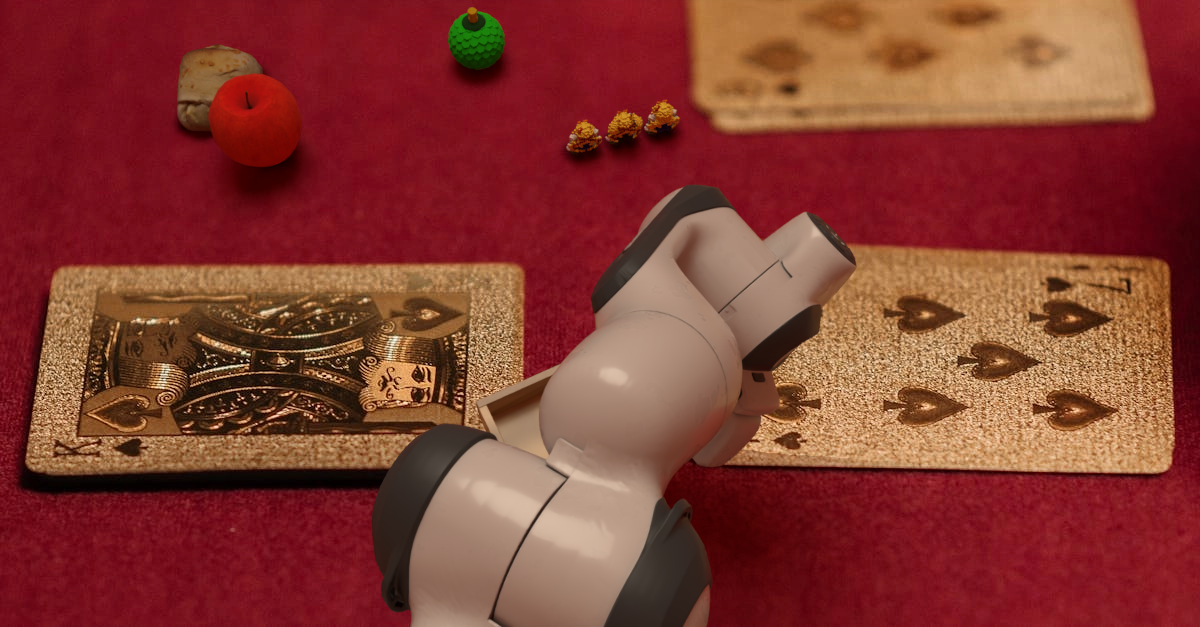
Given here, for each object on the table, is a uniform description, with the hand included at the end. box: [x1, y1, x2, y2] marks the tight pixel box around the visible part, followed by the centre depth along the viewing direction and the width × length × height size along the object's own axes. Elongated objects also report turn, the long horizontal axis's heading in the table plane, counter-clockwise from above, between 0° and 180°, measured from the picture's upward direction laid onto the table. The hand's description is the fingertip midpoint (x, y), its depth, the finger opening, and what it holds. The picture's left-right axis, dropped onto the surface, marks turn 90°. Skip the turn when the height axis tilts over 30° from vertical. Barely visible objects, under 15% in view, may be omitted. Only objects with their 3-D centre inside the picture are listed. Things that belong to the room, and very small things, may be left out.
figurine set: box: [565, 99, 681, 157], centre depth 149 cm, size 3×16×7 cm, turn 108°
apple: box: [208, 73, 303, 168], centre depth 146 cm, size 12×12×13 cm
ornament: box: [447, 6, 506, 71], centre depth 155 cm, size 8×8×10 cm
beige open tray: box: [475, 363, 561, 459], centre depth 103 cm, size 9×11×4 cm
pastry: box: [176, 43, 264, 132], centre depth 153 cm, size 14×12×8 cm
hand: (634, 416), depth 117 cm, fingers closed on small box, 6 cm apart
